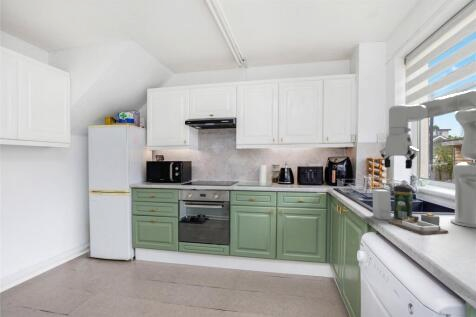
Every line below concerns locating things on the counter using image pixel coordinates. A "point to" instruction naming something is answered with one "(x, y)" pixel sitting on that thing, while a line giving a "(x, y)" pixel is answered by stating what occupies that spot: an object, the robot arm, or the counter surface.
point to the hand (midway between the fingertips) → (397, 167)
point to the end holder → (427, 225)
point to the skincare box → (382, 204)
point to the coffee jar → (402, 201)
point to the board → (413, 220)
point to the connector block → (430, 218)
